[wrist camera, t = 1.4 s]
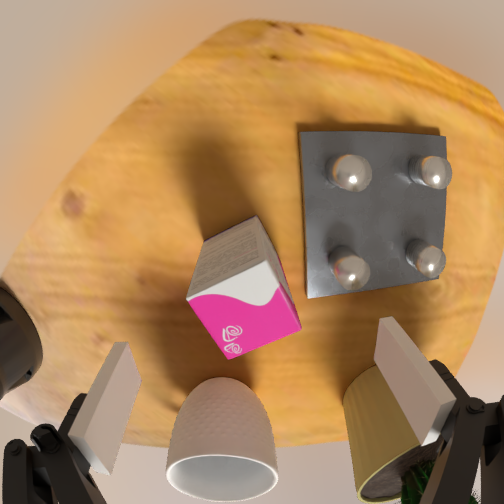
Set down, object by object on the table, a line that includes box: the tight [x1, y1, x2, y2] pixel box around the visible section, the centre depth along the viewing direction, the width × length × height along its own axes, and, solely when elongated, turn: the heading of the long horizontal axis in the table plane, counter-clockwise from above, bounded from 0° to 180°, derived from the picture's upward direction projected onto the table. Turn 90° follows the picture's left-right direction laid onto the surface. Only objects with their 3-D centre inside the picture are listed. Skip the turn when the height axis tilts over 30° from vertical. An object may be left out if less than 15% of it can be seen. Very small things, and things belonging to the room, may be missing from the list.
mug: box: [166, 377, 278, 502], centre depth 30 cm, size 15×11×13 cm
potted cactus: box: [343, 365, 480, 504], centre depth 23 cm, size 15×15×30 cm
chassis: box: [298, 131, 452, 298], centre depth 27 cm, size 16×16×4 cm
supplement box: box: [186, 215, 301, 360], centre depth 25 cm, size 6×6×12 cm
